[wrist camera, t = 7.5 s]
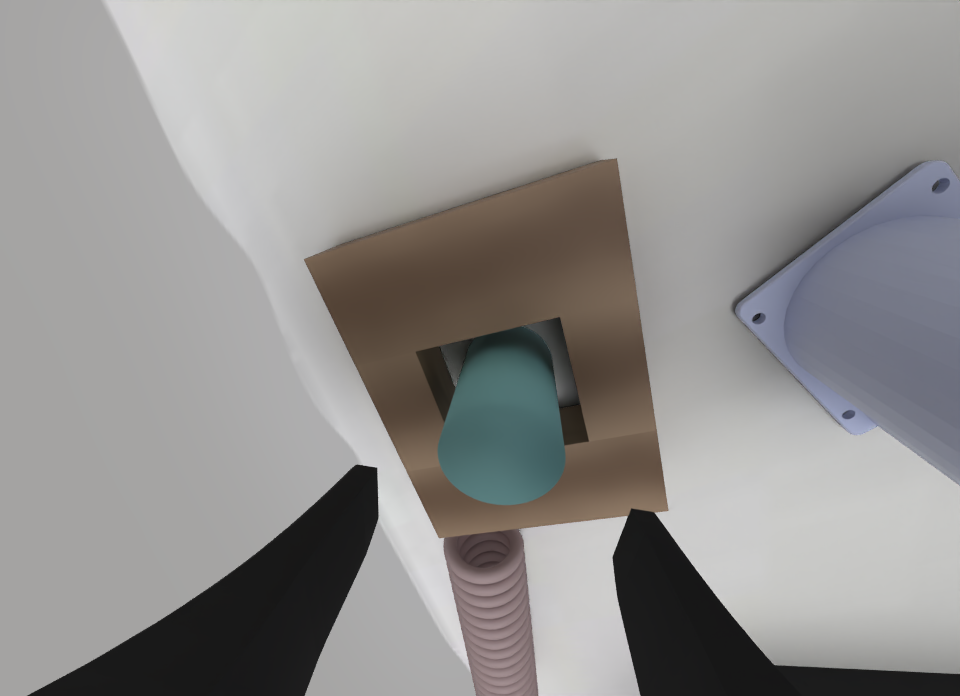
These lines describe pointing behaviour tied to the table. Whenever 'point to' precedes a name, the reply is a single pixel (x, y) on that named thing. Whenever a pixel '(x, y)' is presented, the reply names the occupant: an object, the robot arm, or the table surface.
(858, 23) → the table surface
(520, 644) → the coil
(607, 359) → the socket block
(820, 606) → the table surface
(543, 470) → the teal peg
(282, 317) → the table surface
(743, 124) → the table surface
